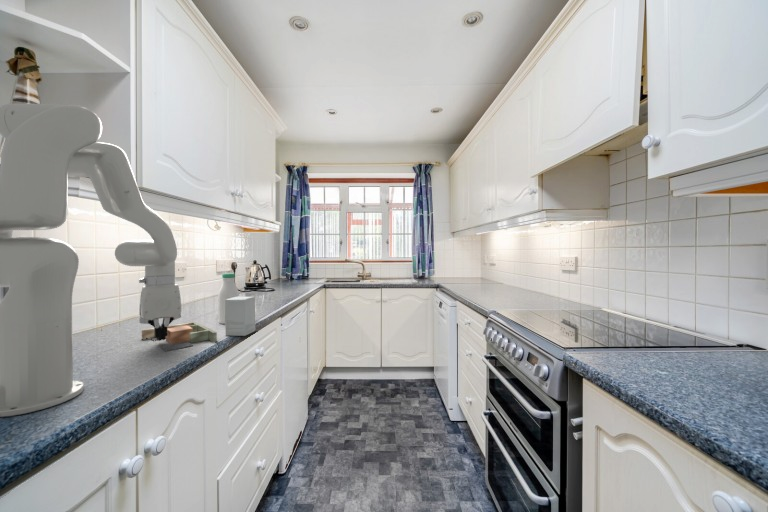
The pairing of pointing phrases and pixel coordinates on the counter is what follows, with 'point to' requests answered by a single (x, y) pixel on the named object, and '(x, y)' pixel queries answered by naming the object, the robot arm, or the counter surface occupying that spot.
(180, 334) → the block
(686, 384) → the counter surface
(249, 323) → the supplement box
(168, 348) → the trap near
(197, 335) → the green-grey pronged frame
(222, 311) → the milk bottle
